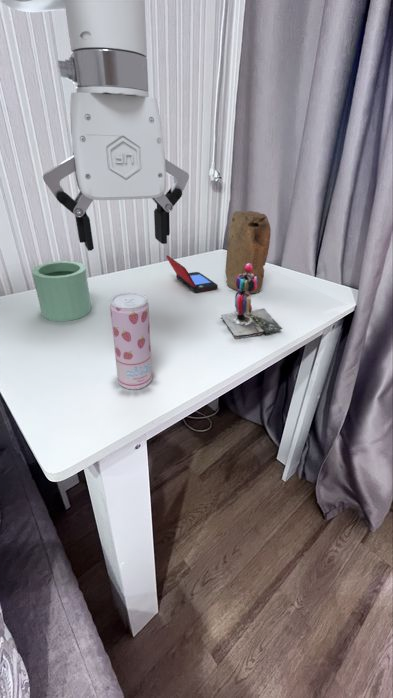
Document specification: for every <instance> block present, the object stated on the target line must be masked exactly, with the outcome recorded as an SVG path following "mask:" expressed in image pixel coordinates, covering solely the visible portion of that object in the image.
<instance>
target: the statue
mask: <svg viewBox="0 0 393 698" xmlns="http://www.w3.org/2000/svg"><path fill="white" fill-rule="evenodd" d="M245 271H246V273H244V274H243V275H242V274H240V275H238V276H237V279H236V287H237V290H240V291H237V290H236V293H235V295H234V307H235V312H229V313H224V314H223V313H222V314H220V317H221V318H220V319H221V321H222V322H225V324H226V325H227V330H229V331H231V333H232V334H233V339H234V340H237V339H242V338H243V339H245V338H246V339H247V338H249V337H256V336H260V335H262V334H263V335H264V336H266V337H267V336H269V335H273V333H274V332H276V331H277V332H279V331H280V330H283V327H282V326H281V325H280V324H279V323H278V322H277V321H276V320H275V319H274V318H273V317H272V315H271V314H270V313H269V312H268V311H267V309H266V308H265V307H263V308H258V309H255V310H253V308H252V299H251V293H250V292H251V291H253V290H256V289H257V280H258V277H257V276H256V275H255V276H254V275H253V274H250V273H251V271H252V265H251V264H250V263H248V264H246V266H245Z"/></svg>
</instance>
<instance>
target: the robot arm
mask: <svg viewBox="0 0 393 698" xmlns="http://www.w3.org/2000/svg"><path fill="white" fill-rule="evenodd" d="M0 2H1V3H2V4H4V5H5V6H6V7H8V8H11V9H13V10H16V11H19V12H24V13H42V12H53V11H54V12H55V11H65V16H66V23H67V24H66V25H67V30H68V38H69V45H70V52H71V54H70V56H69V57H68V59H66V58H65V60H57V69H58V74H59V78H61V79H67V80H68V81H71V83H72V84H74V88H75V91H76V92H71V93H70V100H69V109H70V110H69V111H70V112H69V113H70V114H69V115H70V116H69V117H70V137H71V149H72V155H71V156H70V157H68V158H67V159H65V160H63V161H62V162H60V163H59V164H57V165H56V166H54V167H52V168H51V169H49V170H47V171H45V172H44V173H43V174H42V179H43V182H44V183H45V184H46V186H47V187H48V190H50V192H51V194H53V196H54V197H55V198H56V200H57V202H58V203H60V204H61V205H62V206H63V207H65V208H66V209H67V210H68V211H69V212H70V213H71V214H73V215H74V217H75V223H76V224H75V225H76V230H77V237H78V241H79V243H84V246H85V248H86V250H87V251H89V252H90V251H93V250H94V249H95V248H94V247H95V245H94V239H93V234H92V232H93V231H92V226H91V219H90V217H89V215H88V214H87V211H88V209H89V207H90V206H91V204H92V203H93V201H122V200H123V201H125V200H146V199H147V200H149V199H152V201H153V202H154V203H155V205H156V208H154V210H153V219H154V220H153V222H154V223H153V224H154V238H155V239H156V240H157V241H158V242H159V243H160V244H162V245H166V244H168V237H169V236H170V234H171V227H170V225H171V223H170V221H171V220H170V218H171V217H170V213H171V212H172V211H173V209H174V206H175V205H176V204H177V203H178V201H180V200H181V198H182V196H183V191H184V190H185V188H186V186H187V183H188V181H189V179H190V174H189V173H188V172H187V171H185V170H184V169H182V168H180V167H179V166H177V165H175V164H174V163H172V162H171V161H169V160H167V159H166V156H165V155H166V154H165V145H164V137H163V136H164V135H163V130H162V122H161V121H162V120H161V115H160V110H159V109H160V108H159V105H158V101H157V98H156V97H152V96H149V95H150V94H149V74H148V73H149V72H148V71H149V70H148V50H147V49H148V48H147V25H146V1H145V0H0ZM73 173H74V176H75V181H76V185H77V188H78V190H79V192H77V193H78V194H77V195H76V197H74V198H73V197H72V196H70V195H69V194H68V193H67V192H65V190H64V188H63V187H62V185H61V181H62V180H63V179H65V178H67V177H68V176H69V175H71V174H73ZM167 175H169V176H170V177H172V178H173V183H172V186H171V187H170V188H169V190H168V191H167V192H166V190H167Z"/></svg>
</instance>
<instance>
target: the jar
mask: <svg viewBox="0 0 393 698" xmlns="http://www.w3.org/2000/svg"><path fill="white" fill-rule="evenodd" d="M31 273H32V278H33V282H34V286H35V287H34V288H35V291H36V295H37V300H38V304H39V308H40V312H41V315H42V317H43V318H44V319H46V320H49V321H52V322H69V321H75V320H78V319H82V318H84V317H86V316H87V315H89V314H90V312H91V311H92V304H91V295H90V290H89V289H90V288H89V281H88V276H87V275H88V274H87V268H86V265H84V264H82V263H81V262H77V261H71V260H56V261H50V262H45V263H42V264H38V265H36V266H35V267H34V268H33V269H32V270H31Z"/></svg>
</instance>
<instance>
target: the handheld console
mask: <svg viewBox="0 0 393 698" xmlns="http://www.w3.org/2000/svg"><path fill="white" fill-rule="evenodd" d="M165 257H166V259H167V261H168V262H169V264H170V266H171V267H172V269H173V271H174V273H175V275H176V276H175V277H176V279H177V280H179V282H181V283H182V284H184V285H186V286H187V287H188V288H189V289H190V290H191V291H192V292H194V293H199V292H206V291H211V290H216V289H218V287H219V285H218V284H217V283H216V282H215V281H213V280H211V279H210V278H208V277H207V276H205V275H204V274H203V273H201V272H200V271H192V272H188V270H187V268H186V267H185V266H183V265H182V264H181V263H179V262H177V260H175V259H174V258H172V257H170V256H169V255H166V256H165Z"/></svg>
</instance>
